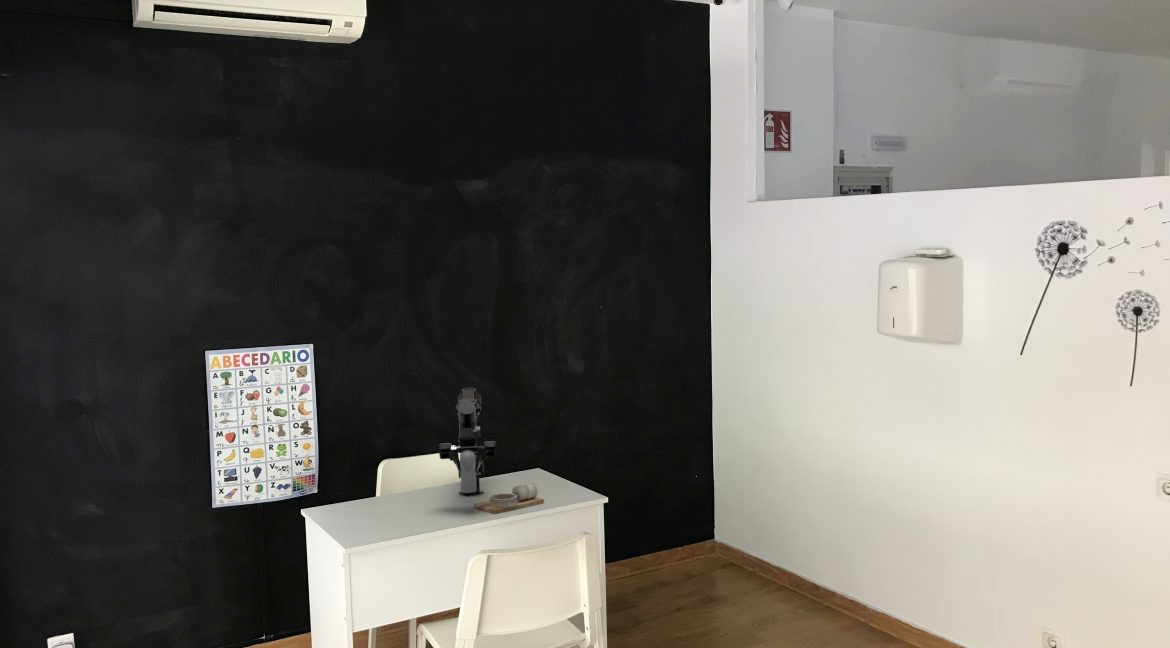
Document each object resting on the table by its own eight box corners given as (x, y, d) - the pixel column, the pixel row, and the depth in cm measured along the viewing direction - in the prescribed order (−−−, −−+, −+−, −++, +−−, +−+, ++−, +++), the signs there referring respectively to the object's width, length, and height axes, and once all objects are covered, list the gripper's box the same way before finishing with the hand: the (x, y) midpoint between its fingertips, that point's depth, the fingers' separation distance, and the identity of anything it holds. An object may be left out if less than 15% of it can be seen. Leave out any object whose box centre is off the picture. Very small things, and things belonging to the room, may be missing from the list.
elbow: (461, 489, 297) (460, 448, 296) (476, 488, 297) (475, 448, 296) (460, 494, 290) (459, 453, 289) (476, 493, 290) (475, 452, 290)
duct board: (474, 507, 300) (473, 488, 300) (523, 496, 313) (522, 479, 312) (494, 514, 291) (493, 495, 291) (543, 502, 304) (543, 484, 303)
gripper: (438, 419, 296) (437, 459, 286) (495, 416, 298) (496, 456, 288) (440, 438, 304) (439, 478, 294) (496, 436, 306) (497, 475, 296)
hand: (468, 471), depth 293 cm, fingers closed on elbow, 5 cm apart
